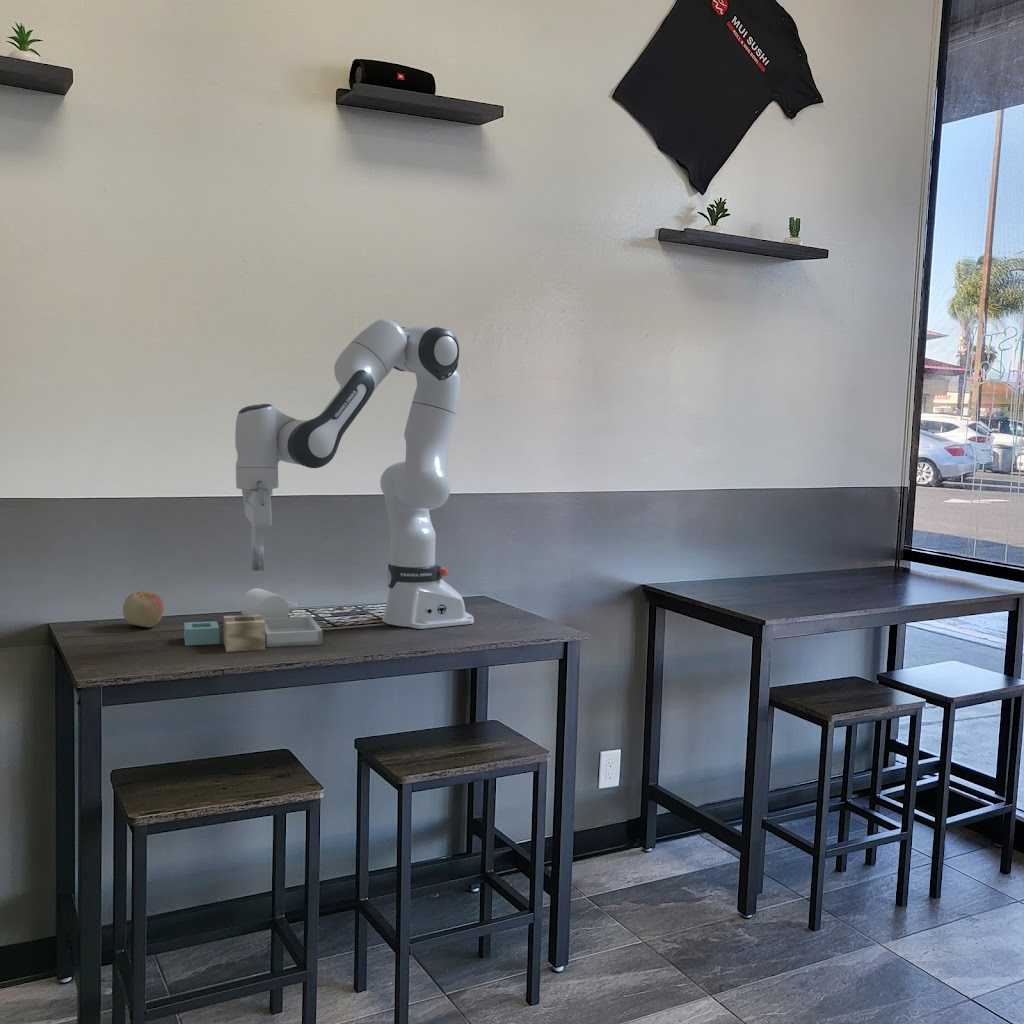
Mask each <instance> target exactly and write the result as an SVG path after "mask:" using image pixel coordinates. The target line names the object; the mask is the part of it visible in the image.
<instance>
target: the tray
mask: <svg viewBox="0 0 1024 1024" xmlns="http://www.w3.org/2000/svg"><path fill="white" fill-rule="evenodd" d="M263 619H264V620H265V648H276V647H280V648H281V647H282V648H283V647H299V646H301V645H302V646H313V645H314V646H317V645H320V646H321V645H323V630H322V628H321V627H320V626H319V624H318V623H317V622H316V620H315V619H314V618H313V616H311V615H310V616H309V615H303V616H288V617H279V618H263Z"/></svg>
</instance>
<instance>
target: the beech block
mask: <svg viewBox="0 0 1024 1024" xmlns="http://www.w3.org/2000/svg"><path fill="white" fill-rule="evenodd" d="M223 645H224V648H225V651H226V652H227V653H228V652H229V653H231V652H244V651H245V652H247V651H265V650H266V645H265V620H264V619H263V617H262V615H243V614H242V615H241V614H240V615H223Z"/></svg>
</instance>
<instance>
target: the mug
mask: <svg viewBox="0 0 1024 1024" xmlns="http://www.w3.org/2000/svg"><path fill="white" fill-rule="evenodd" d="M239 607H240V611H241V614H242V615H262V617H263V618H279V617H289V613H290V612H293V611H296V610H298V609H299V605H298V603H297V602H295V601H289V600H288V601H287V599H286V598H285V597H284V596H282V595H279V594H277V593H273V592H271V591H268V590H266V589H263V588H258V587H256V588H252V589H250V590H248V591H247V592H245V594H244V595H243V596H242V597H241V600H240V606H239Z"/></svg>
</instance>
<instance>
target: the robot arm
mask: <svg viewBox="0 0 1024 1024" xmlns="http://www.w3.org/2000/svg"><path fill="white" fill-rule="evenodd" d="M459 358H460V345H459V341H458V339H457V337H456V335H455V334H454V333H453V332H451V331H450V330H448V329H445V328H442V327H439V326H438V327H437V326H435V327H433V326H425V325H417V326H409V327H405V326H400V325H399V324H398V323H396V322H395V321H393V320H391V319H388V318H381V319H377V320H376V321H374V322H373V323H372V324H370V325H369V326H367V327H366V328H364V329H363V330H362V331H361V332H360V333H359V334H357V335H356V336H355V337H354V339H352V340H351V341H350V343H348V345H347V346H346V347H344V349H343V350H342V352H341V353H340V355H339V356H338V357H337V359H336V361H335V363H334V367H333V369H334V376H335V379H336V381H337V383H338V385H339V386H340V387H339V389H338V391H337V392H336V394H335V395H334V396H333V398H332V399H331V400H330V401H329V402H328V404H327V405H326V406H325V408H324V409H323V410H322V411H321V413H320V414H319V415H317V416H315V417H314V418H311V419H308V420H304V419H302V420H301V419H296V418H294V417H292V416H290V415H287V414H285V413H284V412H281V411H280V410H279V409H277V408H275V406H274V405H273V404H270V403H261V404H252V405H248V406H245V407H242V408H241V409H240V410H239V411H238V413H237V416H236V419H235V420H236V422H235V434H234V437H235V438H234V440H235V441H234V442H235V444H234V445H235V450H236V454H237V456H236V457H237V458H236V462H235V488H236V489H238V490H241V493H242V503H243V511H244V515H245V518H247V520H248V521H249V522H250V523H252V525H253V526H254V529H255V544H256V545H264V546H265V535H266V534H265V533H266V528H271V527H272V522H273V518H272V498H271V497H273V490H275V489H278V488H279V462H280V461H282V462H284V463H287V464H288V463H289V464H293V465H299V466H303V467H305V468H309V469H319V468H322V467H325V466H326V465H328V464H329V463H330V462H332V460H333V459H334V457H335V455H336V454H337V451H338V448H339V446H340V442H341V440H342V437H343V435H344V434H345V433H346V431H347V429H348V428H349V427H350V426H351V424H352V423H353V422H354V421H355V419H356V418H357V416H358V415H359V414H360V412H361V411H362V410H363V408H364V407H365V405H366V404H367V402H368V401H369V400H370V398H371V396H372V395H373V393H374V391H375V390H376V389H377V388H378V387H379V385H380V384H382V381H384V380H385V378H386V377H387V376H388V375H389V374H390V373H391V371H392V370H393V369H395V370H396V371H400V372H408V373H413V374H414V375H415V377H416V388H415V390H414V391H415V392H414V394H413V397H412V401H411V405H410V409H409V413H408V415H407V420H406V424H405V429H404V434H403V435H404V440H405V459H404V460H405V461H399V462H397V463H393V464H391V465H390V466H388V467H387V468H385V470H384V471H383V472H382V474H381V476H380V480H379V481H380V489H381V492H382V494H383V496H384V500H385V501H384V502H385V507H386V514H387V520H388V525H389V537H390V539H389V541H390V542H389V544H390V545H389V563H388V565H387V566H388V567H387V575H386V578H387V580H386V581H387V583H386V584H387V586H388V591H387V598H386V605H385V608H384V613H383V616H382V619H381V621H382V622H383V623H385V624H388V625H392V626H397V627H406V628H407V627H408V628H412V629H416V630H417V629H420V630H422V629H432V628H433V629H434V628H443V627H453V626H463V625H471V624H474V622H475V619H474V616H473V615H472V614H471V613H469V612H467V611H466V606H465V601H464V599H463V596H462V595H461V593H459V592H458V591H457V590H456V589H455V588H453V587H452V586H451V585H450V584H449V583H447V582H446V581H445V580H443V577H447V576H448V575H449V570H448V569H447V568H446V567H444V566H442V567H441V566H439V565H438V564H436V544H437V543H436V536H437V535H436V531H435V528H434V527H433V523H432V519H431V515H430V511H432V510H435V509H438V508H441V507H442V506H443V505H444V504H446V502H447V500H448V499H449V497H450V493H451V484H450V481H449V478H448V451H449V444H450V438H451V435H452V431H453V428H454V427H453V426H454V423H455V418H456V414H457V410H458V406H459V400H460V393H461V376H460V374H459V372H458V371H457V368H458V365H459Z"/></svg>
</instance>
